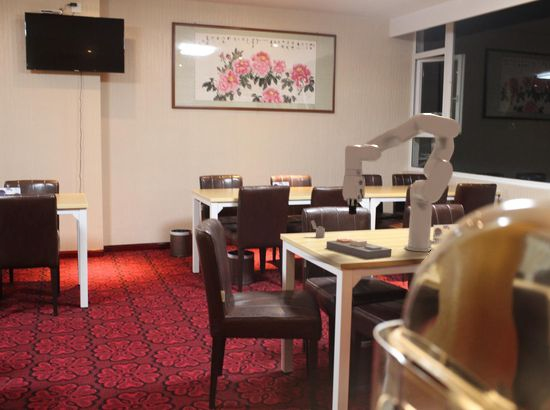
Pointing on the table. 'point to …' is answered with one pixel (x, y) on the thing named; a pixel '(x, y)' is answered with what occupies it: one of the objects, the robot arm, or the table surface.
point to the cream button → (358, 243)
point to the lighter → (318, 230)
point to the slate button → (373, 247)
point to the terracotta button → (343, 240)
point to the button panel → (358, 250)
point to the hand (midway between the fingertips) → (352, 214)
